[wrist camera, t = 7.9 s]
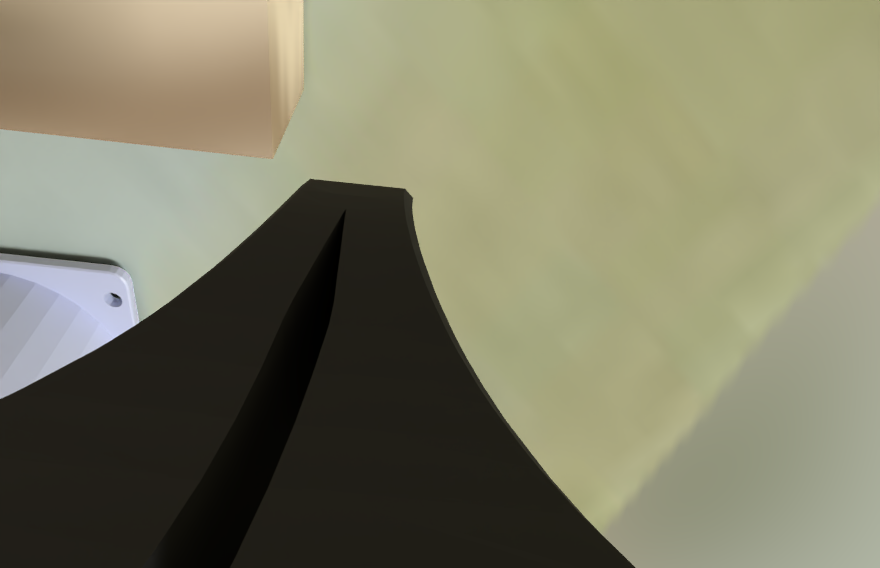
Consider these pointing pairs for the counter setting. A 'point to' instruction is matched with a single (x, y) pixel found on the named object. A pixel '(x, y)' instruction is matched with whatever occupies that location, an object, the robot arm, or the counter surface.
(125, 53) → the birch deck
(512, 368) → the counter surface
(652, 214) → the counter surface
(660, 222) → the counter surface
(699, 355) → the counter surface
